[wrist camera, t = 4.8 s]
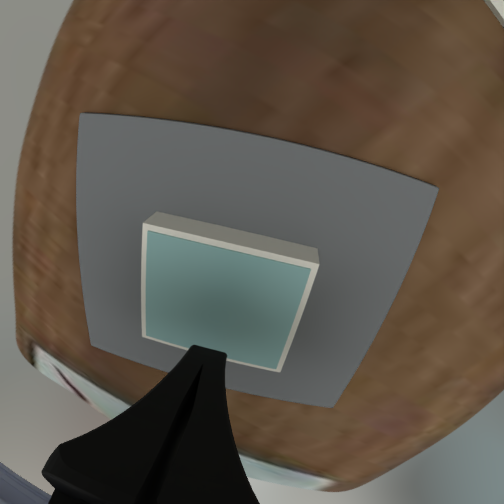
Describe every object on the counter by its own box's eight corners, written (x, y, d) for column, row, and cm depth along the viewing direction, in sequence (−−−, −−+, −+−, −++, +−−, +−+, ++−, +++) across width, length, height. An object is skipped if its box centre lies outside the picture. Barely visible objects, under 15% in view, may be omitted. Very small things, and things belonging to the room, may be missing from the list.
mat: (332, 402, 20) (332, 407, 20) (94, 341, 21) (91, 345, 20) (435, 185, 13) (439, 188, 13) (85, 112, 14) (79, 113, 13)
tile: (280, 373, 16) (141, 337, 17) (281, 353, 18) (152, 320, 18) (319, 265, 13) (141, 223, 14) (317, 248, 15) (156, 211, 15)
